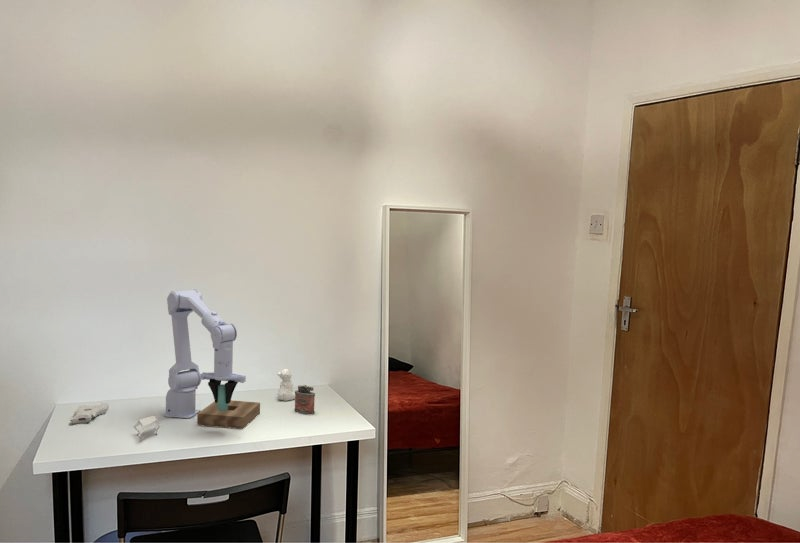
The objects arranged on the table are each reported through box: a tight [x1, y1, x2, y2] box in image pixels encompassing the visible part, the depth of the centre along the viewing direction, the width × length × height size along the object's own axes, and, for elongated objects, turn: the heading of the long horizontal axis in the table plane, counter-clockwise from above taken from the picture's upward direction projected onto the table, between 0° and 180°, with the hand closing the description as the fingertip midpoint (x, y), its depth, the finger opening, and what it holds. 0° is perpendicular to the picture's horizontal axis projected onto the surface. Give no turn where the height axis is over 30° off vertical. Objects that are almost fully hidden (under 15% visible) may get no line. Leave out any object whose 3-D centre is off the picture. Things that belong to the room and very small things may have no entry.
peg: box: [218, 383, 228, 411], centre depth 195 cm, size 3×3×8 cm
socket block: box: [196, 399, 261, 429], centre depth 208 cm, size 16×16×4 cm
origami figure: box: [132, 415, 161, 442], centre depth 189 cm, size 12×8×5 cm
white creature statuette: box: [276, 368, 295, 402], centre depth 233 cm, size 10×9×12 cm
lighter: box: [293, 384, 316, 415], centre depth 218 cm, size 8×3×10 cm, turn 68°
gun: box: [69, 402, 109, 424], centre depth 206 cm, size 18×3×10 cm
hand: (222, 402), depth 195 cm, fingers closed on peg, 3 cm apart
